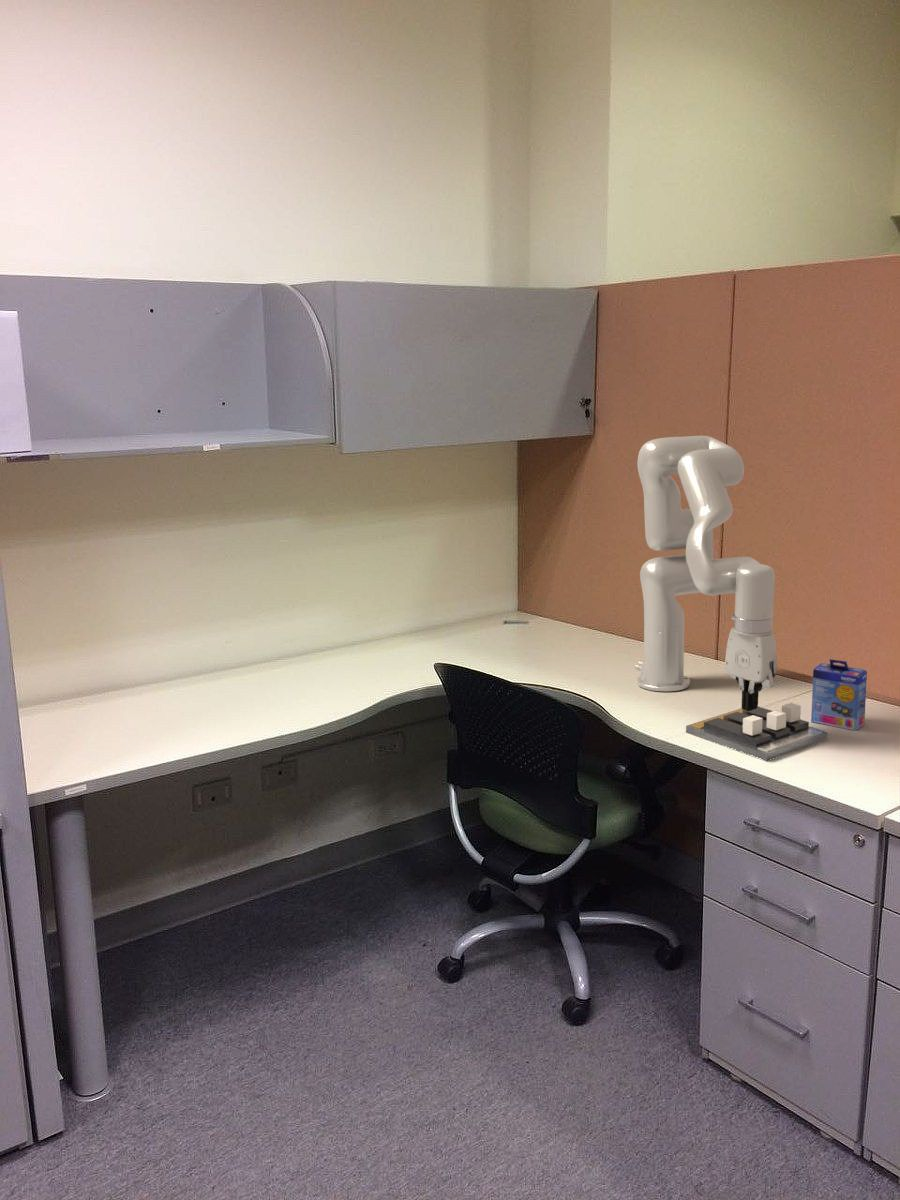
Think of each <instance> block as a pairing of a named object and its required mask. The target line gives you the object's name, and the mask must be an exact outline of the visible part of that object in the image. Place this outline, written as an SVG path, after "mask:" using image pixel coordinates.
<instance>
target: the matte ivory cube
mask: <svg viewBox="0 0 900 1200" xmlns="http://www.w3.org/2000/svg"><path fill="white" fill-rule="evenodd" d="M771 711H772V712H769V713H767V726H766V727H767V728H770V729H773V730H779V729H782V728H785V727H786V713H784V712H782V710H781V711H780V710H771Z"/></svg>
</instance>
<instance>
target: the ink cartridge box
mask: <svg viewBox="0 0 900 1200" xmlns="http://www.w3.org/2000/svg"><path fill="white" fill-rule="evenodd" d="M839 664H841V665H839ZM812 672H813V673H812V690H811V691H812V695H811V697H812V698H811V715H810V717H811V719H810V722H811V723H814V724H815V723H816V724H819V725H824V724H825V725H826V726H829V727H830V726H831V727H835V728H840V729H845V730H848V731H849V730H851V731H858V730H859V729H860V728H861V727H863V726H864V725H865V724H866V723H865V717H866V700H867V699H866V697H867V696H866V695H867V680H868V679H867V677H868V671H867V669H863V668H855V667H850V666H849V665H848V663H847V661H845V660H837V659H831V658H830V659H829V663H819V664H818V665H817V666H816V667H814V668H813V670H812ZM825 725H824V726H825Z"/></svg>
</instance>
